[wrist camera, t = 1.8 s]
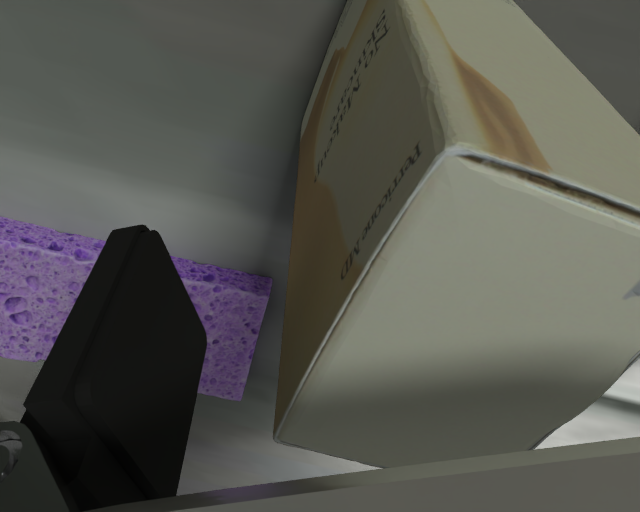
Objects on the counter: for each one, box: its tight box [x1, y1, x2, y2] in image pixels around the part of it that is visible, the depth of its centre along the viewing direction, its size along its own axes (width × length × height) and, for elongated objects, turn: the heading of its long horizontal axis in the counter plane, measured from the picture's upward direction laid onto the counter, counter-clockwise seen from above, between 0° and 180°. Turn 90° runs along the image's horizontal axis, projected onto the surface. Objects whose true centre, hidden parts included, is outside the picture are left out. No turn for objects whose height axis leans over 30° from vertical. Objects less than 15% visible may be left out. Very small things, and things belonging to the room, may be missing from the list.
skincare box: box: [273, 0, 640, 469], centre depth 12 cm, size 6×4×12 cm
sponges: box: [0, 217, 273, 401], centre depth 23 cm, size 7×13×2 cm, turn 74°
